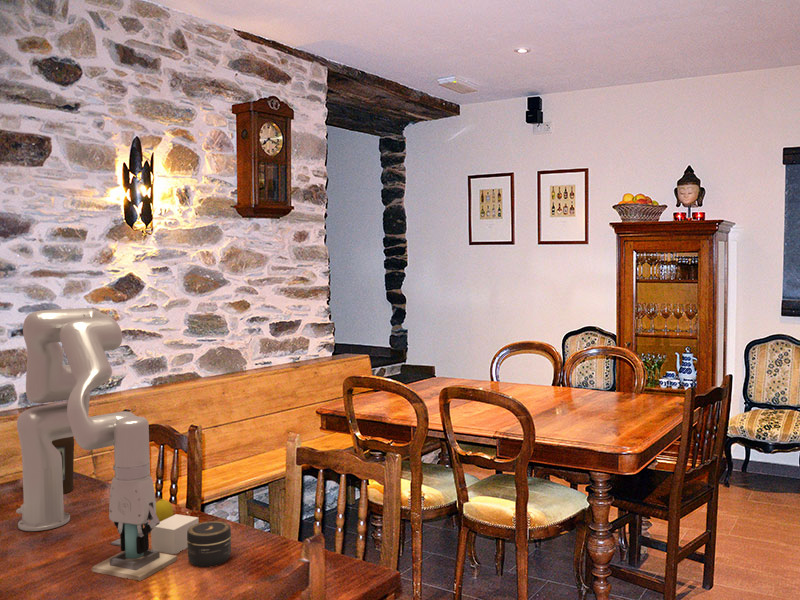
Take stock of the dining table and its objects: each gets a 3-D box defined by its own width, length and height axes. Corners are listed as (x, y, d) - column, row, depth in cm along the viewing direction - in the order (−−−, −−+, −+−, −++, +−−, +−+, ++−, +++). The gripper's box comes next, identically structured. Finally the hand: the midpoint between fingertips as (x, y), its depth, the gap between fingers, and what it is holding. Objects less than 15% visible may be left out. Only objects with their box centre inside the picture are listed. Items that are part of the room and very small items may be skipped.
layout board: (91, 571, 162) (91, 560, 162) (130, 551, 173) (130, 541, 173) (140, 581, 157) (140, 569, 157) (177, 560, 168) (176, 549, 168)
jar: (233, 550, 174) (232, 518, 173) (230, 567, 164) (229, 534, 164) (190, 553, 172) (189, 521, 172) (185, 570, 162) (184, 537, 162)
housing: (151, 550, 174) (151, 526, 174) (176, 537, 182) (176, 514, 182) (175, 554, 171) (174, 529, 171) (199, 541, 179) (198, 517, 179)
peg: (121, 557, 164) (120, 522, 163) (134, 551, 167) (133, 517, 167) (135, 560, 162) (134, 525, 162) (147, 553, 166) (146, 519, 165)
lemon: (167, 533, 185) (166, 502, 185) (147, 532, 186) (146, 501, 186) (177, 526, 190) (177, 496, 190) (158, 524, 191) (158, 495, 191)
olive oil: (42, 487, 225) (40, 408, 224) (79, 485, 228) (76, 406, 226) (32, 498, 215) (30, 415, 214) (70, 495, 217) (68, 413, 216)
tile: (110, 544, 178) (110, 541, 178) (122, 538, 182) (122, 536, 182) (123, 546, 177) (123, 544, 176) (135, 540, 180) (135, 538, 180)
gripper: (91, 472, 164) (94, 551, 164) (150, 479, 157) (152, 562, 158) (116, 464, 171) (118, 540, 171) (173, 470, 164) (175, 549, 165)
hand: (134, 549), depth 165 cm, fingers closed on peg, 4 cm apart
